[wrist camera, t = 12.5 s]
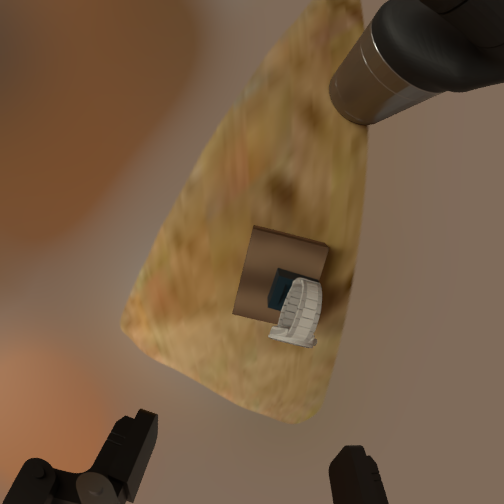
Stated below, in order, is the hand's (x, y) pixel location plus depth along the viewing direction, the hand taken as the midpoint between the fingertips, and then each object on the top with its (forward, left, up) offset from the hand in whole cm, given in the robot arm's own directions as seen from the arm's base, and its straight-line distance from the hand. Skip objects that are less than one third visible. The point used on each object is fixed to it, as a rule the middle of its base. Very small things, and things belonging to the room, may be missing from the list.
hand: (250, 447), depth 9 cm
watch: (+3, +5, -27) cm, 28 cm away
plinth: (+2, +3, -30) cm, 30 cm away
